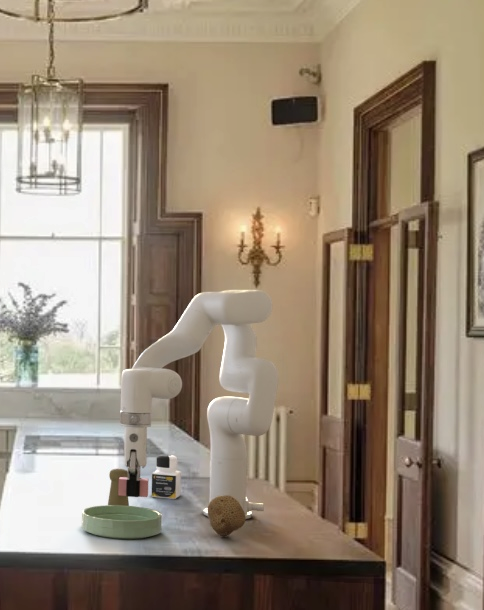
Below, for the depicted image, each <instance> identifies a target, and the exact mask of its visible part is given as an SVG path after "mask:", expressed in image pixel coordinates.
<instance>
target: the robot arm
mask: <svg viewBox="0 0 484 610" xmlns="http://www.w3.org/2000/svg"><path fill="white" fill-rule="evenodd" d="M273 306H274V305H273V300H272V298H271V296H270V295H269V294H268V293H267V292H265V291H264V290H261V289H226V290H221V291H203V292H200V293H198V294H196V295H195V296H194V297H193V298H192V299H191V301H190V302H189V304H188V305H187V307H186V308H185V310H184V311H183V313H182V315H181V316H180V318H179V320H178V321H177V323H176V324H175V325H174V327H173V328H172V330H171V331H170V332H168V333H167V334H166V335H164V336H162V337H161V338H159V339H158V340H157V341H155V342H153V343H152V344H151V345H150V346H148V347H147V348H145V350H143V352H142V353H141V354H140V355H139V357H138V358H137V360H136V361H135V363H134V364H133V366H132V367H131V368H126V369H124V370H123V371H122V373H121V381H120V382H121V383H120V384H121V385H120V410H119V411H120V413H119V415H120V416H119V418H120V419H119V425H120V426H121V427H124V440H123V441H124V442H123V443H124V444H123V445H124V446H123V447H124V448H123V449H124V450H123V453H124V454H123V455H124V466H125V467H126V468H127V472H128V475H127V483H126V496H128V498H140V497H139V496H140V480H139V478H141V468H142V469H145V467H146V466H147V463H148V462H147V461H148V460H147V459H148V458H147V456H148V455H147V453H148V429H147V428H151V427H152V409H153V407H152V405H153V399H158V400H159V399H160V400H171V399H174V398H175V397H177V396H178V395H179V394H180V392H181V391H182V388H183V380H182V378H181V375H179V373H177V372H176V371H175V370H172V369H169V368H164V367H166V366H167V365H169V364H170V363H173V362H175V361H178V360H181V359H184V358H187V357H189V356H193V355H194V354H196V353H198V352H199V351H200V350H201V349H202V347H203V345H204V343H206V340H207V338H208V337H209V335H210V334H211V332H212V331H213V330H214V328H215V327H216V326H218V325H220V326H221V327H222V330H223V334H224V344H223V345H224V346H223V353H222V358H221V365H220V370H219V384H220V386H221V388H223V389H224V391H225V390H226V391H228V392H233V393H240V394H248V397H247V398H246V397H239V396H231V395H230V396H229V395H227V396H219V397H216V398H214V399H213V400H212V401H211V402H210V403H209V404H208V407H207V411H206V419H207V423H208V429H209V436H210V437H209V438H210V440H209V441H210V457H209V458H210V459H209V460H210V461H209V502H210V501H211V500H212V499H213V498H215V497H217V496H222V495H229V496H232V497H233V498H235V499H236V500H237V501H238V502H239V503H240V505H241V507H242V509H243V511H244V513H245V517H246V518H245V520H249V519H251V518H252V517H253V513H252V511H256V512H264V511H265V504H264V503H259V502H251V501H249V500H248V497H247V476H248V475H247V474H248V471H247V470H248V449H247V444H246V441H245V439H244V437H243V435H245V436H252V437H260V436H264V435H265V434H266V433H268V431H269V430H270V428H271V426H272V422H273V418H274V412H275V406H276V401H277V400H276V399H277V393H278V387H279V372H278V369H277V367H276V364H274V362H272V361H271V360H269V359H267V358H263V357H257V348H258V338H257V337H258V336H257V334H256V331H255V329H254V328H253V326H252V324H259V323H263V322H265V321H266V320H267V319H269V318H270V316H271V314H272V311H273ZM203 515H204V516H206V517H208V512H207V507H206V508H204V509H203Z"/></svg>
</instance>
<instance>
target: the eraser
mask: <svg viewBox="0 0 484 610" xmlns="http://www.w3.org/2000/svg"><path fill="white" fill-rule="evenodd" d="M139 480H140V496H139V497H138V498H148V497H149V478H144V477H143V478H142V477H140V478H139ZM126 483H127V477H120V478H119V491H118V495H120V496H126Z"/></svg>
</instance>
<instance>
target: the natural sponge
mask: <svg viewBox="0 0 484 610" xmlns="http://www.w3.org/2000/svg"><path fill="white" fill-rule="evenodd" d="M206 508H207V512H208V516H207V517H208V520H209V525H210V527H211V529H212V530H213V531H214V532H215V533H216V534H217V535H218V536H219V537H222V538H223V537H228V536H230V535H232V533H234V532H235V531H237V530H239V529H241V528H242V527H244V525H245V524H246V519H245V518H246V517H245V513H244V511H243V509H242V507H241V505H240V503H239V502H238V501H237V500H236V499H235V498H233V497H232V496H229V495H222V496H217V497H215V498H213V499H212V500H211V501H210V500H209V502H208V504H207V507H206Z"/></svg>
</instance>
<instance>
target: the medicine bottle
mask: <svg viewBox="0 0 484 610" xmlns="http://www.w3.org/2000/svg"><path fill="white" fill-rule="evenodd" d="M155 463H156V465H155V466H156V470H155V471H153V472H152V473H151V497H152V498H157V499H158V498H159V499H170V500H176V499H177V498H179V497H180V496H181V495H182V471H181V470H178V457H177V456H176V455H174V454H159V455H157V456H156V462H155Z"/></svg>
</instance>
